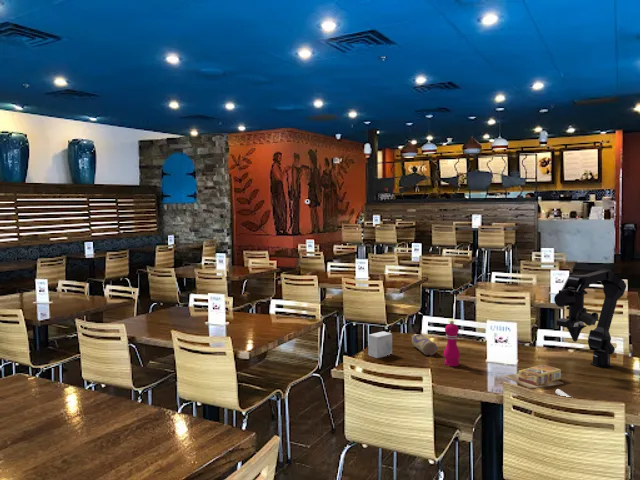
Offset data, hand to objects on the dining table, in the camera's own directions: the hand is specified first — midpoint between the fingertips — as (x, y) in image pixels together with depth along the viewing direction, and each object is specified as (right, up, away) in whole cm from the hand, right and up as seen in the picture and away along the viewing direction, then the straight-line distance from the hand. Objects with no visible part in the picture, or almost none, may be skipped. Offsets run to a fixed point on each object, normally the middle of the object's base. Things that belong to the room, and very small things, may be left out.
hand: (575, 341), depth 228 cm
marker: (-17, -16, -34) cm, 41 cm away
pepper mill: (-49, -13, +14) cm, 53 cm away
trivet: (-21, -14, -9) cm, 27 cm away
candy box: (-12, -11, -6) cm, 18 cm away
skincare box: (-79, -13, +31) cm, 86 cm away
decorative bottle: (-57, -12, +40) cm, 70 cm away
